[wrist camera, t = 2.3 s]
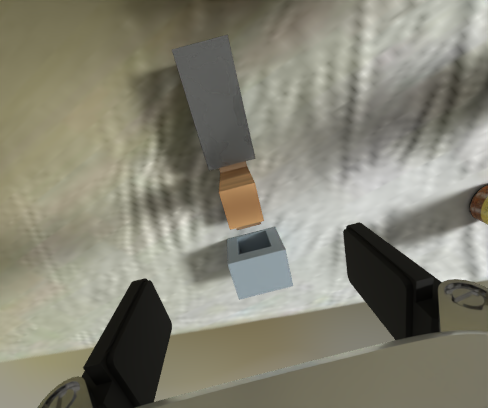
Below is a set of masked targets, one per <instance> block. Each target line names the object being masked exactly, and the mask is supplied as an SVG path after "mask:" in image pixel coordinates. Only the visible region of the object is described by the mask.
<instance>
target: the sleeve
mask: <svg viewBox="0 0 488 408" xmlns="http://www.w3.org/2000/svg"><path fill="white" fill-rule="evenodd" d="M172 52H173V55H174V58H175V62H176V65H177V68H178V72H179V75H180V78H181V81H182V85H183V88H184V91H185V94H186V98H187V101H188V104H189V107H190V111H191V114H192V117H193V120H194V124H195V127H196V130H197V133H198V137H199V140H200V143H201V147H202V150H203V153H204V156H205V160H206V163H207V166H208V169H209V171H210V170H213V169H217V168H221V167H225V166H229V165H233V164H236V163H240V162H244V161H248V160H252V159H255V154H254V150H253V146H252V141H251V137H250V132H249V128H248V123H247V119H246V115H245V110H244V106H243V101H242V97H241V92H240V88H239V84H238V79H237V75H236V70H235V66H234V61H233V57H232V53H231V48H230V44H229V39H228V35H225V36H221V37H217V38H213V39H210V40H206V41H202V42H199V43H195V44H191V45H187V46H184V47H180V48H176V49H172Z"/></svg>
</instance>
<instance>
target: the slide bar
mask: <svg viewBox="0 0 488 408" xmlns="http://www.w3.org/2000/svg"><path fill="white" fill-rule="evenodd" d="M219 170H220V184H219V194H220V198H221V201H222V204H223V208H224V211H225V214H226V218H227V221H228V224H229V228H230V230H231V229H235V228H236V229H237V230H240V229H244V228H247V227H251V226H255V225H259V224H261V222H262V221H264V219H263V215H262V211H261V207H260V202H259V198H258V194H257V190H256V185H255V182H254V180H253V178H252V176H251V174H250V171H249V169H248V167H247V164H246V161H244V162H240V163H236V164H233V165H229V166H225V167H221V168H219Z"/></svg>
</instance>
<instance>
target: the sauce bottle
mask: <svg viewBox="0 0 488 408" xmlns="http://www.w3.org/2000/svg"><path fill="white" fill-rule="evenodd" d="M470 211H471V214H472V216H473V217H474V218H476V219H478V220H480V221H482V222H484V223H486V224H487V225H488V185H486V186H484V187H483V188H481V189H480V190H479V191H478V192H477V193H476V195H475V196H474V197H473V199H472V201H471V204H470Z"/></svg>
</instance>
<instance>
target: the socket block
mask: <svg viewBox="0 0 488 408" xmlns="http://www.w3.org/2000/svg"><path fill="white" fill-rule="evenodd" d="M227 258H228V267H229V270H230V273H231V276H232V279H233V282H234V285H235V288H236V292H237V295H238V298H239V300H240V299H244V298H248V297H252V296H255V295H259V294H263V293H267V292H271V291H275V290H279V289H283V288H287V287H291V286H293V283H292V278H291V273H290V269H289V264H288V259H287V254H286V249H285V247H284V245H283V243H282V241H281V239H280V237H279V234H278V232H277V230H276V228H275V227H272V228H268V229H265V230H261V231H257V232H253V233H249V234H245V235H241V236H237V237H233V238H230V239H227Z"/></svg>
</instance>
